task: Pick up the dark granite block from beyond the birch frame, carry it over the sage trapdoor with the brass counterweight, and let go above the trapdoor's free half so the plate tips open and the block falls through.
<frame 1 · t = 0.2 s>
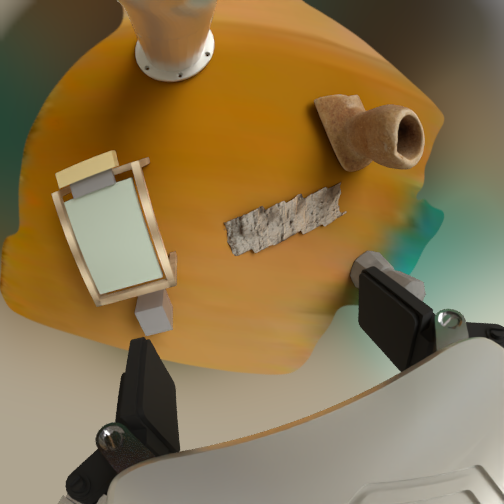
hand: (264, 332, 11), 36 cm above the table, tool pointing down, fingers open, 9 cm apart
coffeepot: (368, 270, 59), on the table
granite block: (156, 299, 49), on the table
stone cup: (349, 128, 46), on the table
trapdoor frame: (126, 219, 43), on the table
stone fragment: (290, 213, 50), on the table
trapdoor: (105, 227, 32), point 11 cm above the table, hinge at 0.0°
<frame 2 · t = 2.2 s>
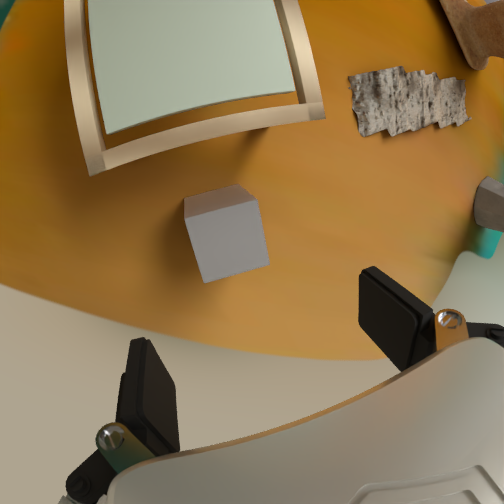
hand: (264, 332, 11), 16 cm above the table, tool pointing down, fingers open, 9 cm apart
coffeepot: (485, 205, 35), on the table
granite block: (217, 216, 26), on the table
stone cup: (459, 27, 21), on the table
trapdoor frame: (179, 50, 19), on the table
stone fragment: (422, 98, 26), on the table
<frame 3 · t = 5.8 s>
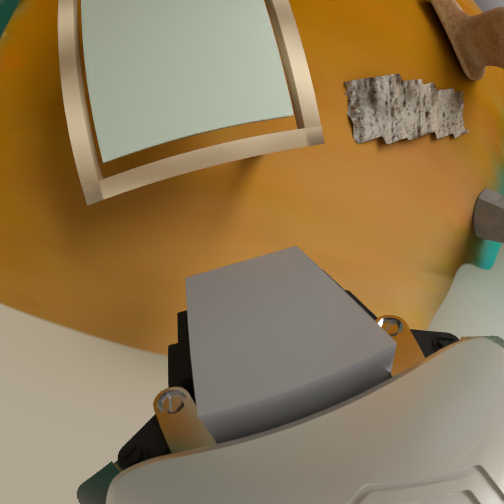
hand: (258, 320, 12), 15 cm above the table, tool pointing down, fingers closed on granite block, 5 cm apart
coffeepot: (484, 216, 35), on the table
granite block: (253, 308, 13), point 14 cm above the table, touching gripper
stone cup: (456, 37, 23), on the table
trapdoor frame: (176, 70, 19), on the table
stone fragment: (419, 108, 27), on the table
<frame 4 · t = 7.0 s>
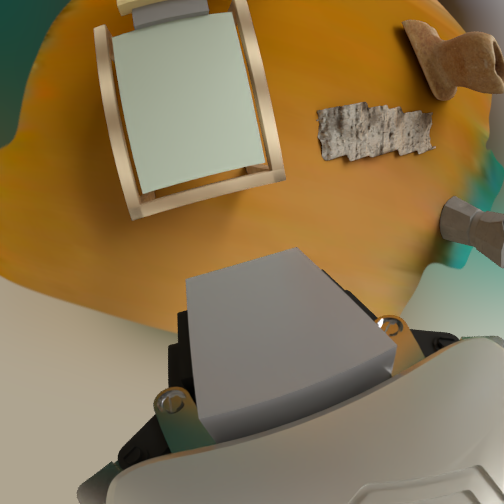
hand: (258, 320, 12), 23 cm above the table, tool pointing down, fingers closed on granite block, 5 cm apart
coffeepot: (453, 221, 44), on the table
granite block: (253, 309, 13), point 22 cm above the table, touching gripper
stone cup: (430, 60, 32), on the table
trapdoor frame: (184, 111, 28), on the table
stone fragment: (386, 129, 35), on the table
trapdoor: (180, 68, 17), point 11 cm above the table, hinge at 0.0°
when the fingers open (13 cm above the table, at t = 9.9 s): granite block drops 7 cm, resting on trapdoor, trapdoor frame.
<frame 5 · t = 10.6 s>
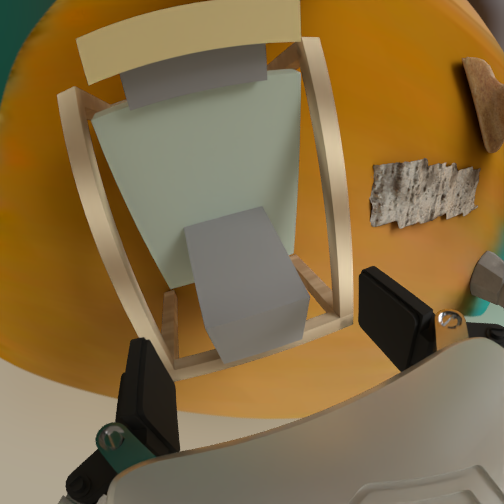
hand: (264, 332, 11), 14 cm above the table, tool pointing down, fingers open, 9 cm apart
coffeepot: (482, 274, 39), on the table
granite block: (228, 244, 19), point 6 cm above the table, tilted 25°, touching trapdoor, trapdoor frame
stone cup: (482, 102, 26), on the table
trapdoor frame: (209, 192, 23), on the table
stone fragment: (437, 187, 29), on the table
trapdoor: (214, 180, 14), point 9 cm above the table, hinge at -27.6°, touching granite block
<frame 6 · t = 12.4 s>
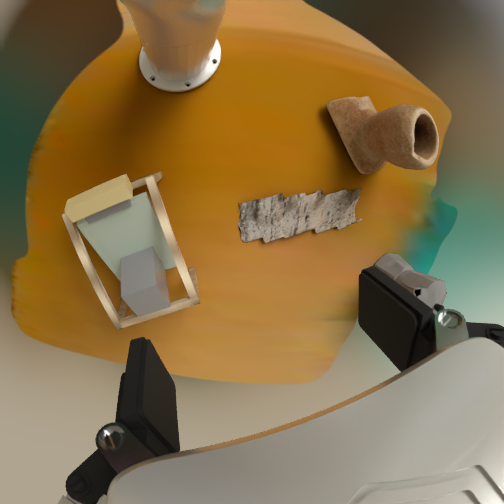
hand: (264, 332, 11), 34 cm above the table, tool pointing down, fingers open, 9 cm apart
coffeepot: (388, 273, 57), on the table
granite block: (143, 263, 38), point 5 cm above the table, tilted 25°, touching trapdoor, trapdoor frame
stone cup: (361, 131, 45), on the table
trapdoor frame: (141, 237, 42), on the table
stone fragment: (307, 209, 48), on the table
trapdoor: (126, 240, 34), point 8 cm above the table, hinge at -29.8°, touching granite block
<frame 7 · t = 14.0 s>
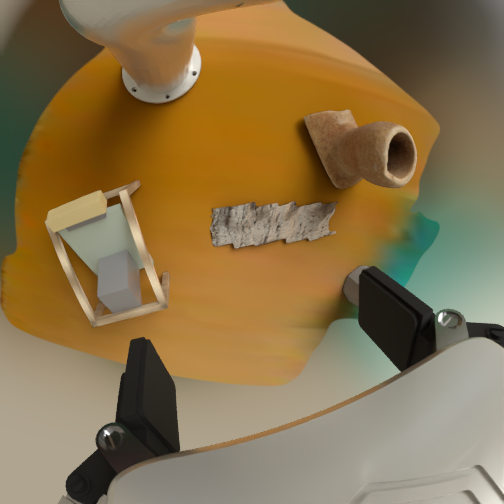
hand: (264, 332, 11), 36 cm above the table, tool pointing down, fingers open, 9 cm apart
coffeepot: (361, 284, 60), on the table
granite block: (119, 264, 40), point 5 cm above the table, tilted 28°, touching trapdoor, trapdoor frame
stone cup: (340, 144, 47), on the table
trapdoor frame: (119, 241, 43), on the table
stone fragment: (279, 219, 50), on the table
trapdoor: (102, 245, 35), point 8 cm above the table, hinge at -33.9°, touching granite block
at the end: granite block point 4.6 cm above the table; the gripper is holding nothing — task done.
